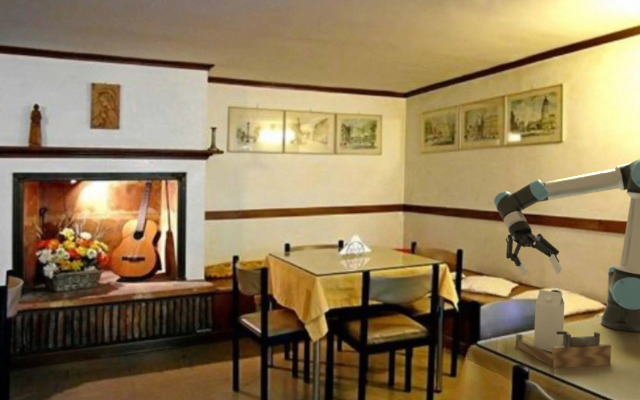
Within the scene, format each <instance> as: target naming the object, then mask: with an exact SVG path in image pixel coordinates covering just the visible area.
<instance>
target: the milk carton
mask: <svg viewBox="0 0 640 400" xmlns="http://www.w3.org/2000/svg"><path fill="white" fill-rule="evenodd" d="M534 309H535V312H534V335H533V336H534V337H533V338H534V339H533V346H535V347H537V348H539V349H541V350H543V351H544V352H550V353H552V348H553V347H558V346H564V344H563V334H559V335H557V333H556V332H557V331H564V323H565V321H564V320H565V318H564V317H565V301H564V298H563V293H562V292H557V291H550V290H544V289H539V290H538V295H537V299H536V301H535V308H534Z"/></svg>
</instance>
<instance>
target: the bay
mask: <svg viewBox="0 0 640 400" xmlns="http://www.w3.org/2000/svg"><path fill="white" fill-rule="evenodd" d="M556 333H557V335H559V334H563V346H558V347H553V348H552V352H551V354H550V353H548V352H547V351H545V350H541V349H539V348H537V347H535V346H534V344H531V343H530V342H528V341H526V340H525V339H523V334H521V333H516V334H515V347H517V348H519V349H521V350H522V351H524V352H526V353H527V354H529V355H531V356H533V357H534V358H536V359H537V360H539V361H541V362H543V363H545V364H547V365H548V366H550V367H552V369H553V368H554V369H563V368H578V367H579V368H582V367H597V366H598V367H599V366H610V365H611V364H612V363H611V360H612V345H611V344H609V343H604V344H601V341H600V340H601V333H600V332H598V331H596V332H595V331H594V333H593V335H588V336H586V335H585V336H572V334H570V332H568V331H566V330H563V331H557V332H556Z"/></svg>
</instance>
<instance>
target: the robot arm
mask: <svg viewBox="0 0 640 400" xmlns="http://www.w3.org/2000/svg"><path fill="white" fill-rule="evenodd" d="M618 189H619V190H620V191H621V190H622V191H626V193H627V195H628V196H629V197H630V201H629V208H628V215H627V221H626V226H625V232H624V238H623V246H622V251H621V257H620V263H618V264H617V265H611V266H610V267H609V268H608V271H607V275H608V277H607V278H608V280H607V296H606V297H607V299H606V301H607V303H606V307H605V309H604V311H603V314H602V316H601V318H600V319H601V320H600V324H601V325H603V326H604V327H606V328H610V329H613V330H618V331H624V332H633V333H634V332H635V333H637V332H640V158H638V159H635V160H633V161H630V162H628V163H624V164H619V165H616V167H615V168H611V169H607V170H603V171H596V172H592V173H585V174H581V175H577V176H570V177H565V178H559V179H555V180H549V181H544V182H542V180H541V179H537V180H534V181H532V182H530V183H528V184H527V185H525V186H524V187H522V188H520V189H519V190H517V191H515V192H513V193H512V192H510V191H503V192H499V193H498V194H496V195H495V197H494V199H493V203H494V204H495V207H496V210H497V211H498V213H499V216H500V217H501V219H502V221H503V223H504V225H505V227H506V229H507V231H508V233H509V234H508V235H507V236H506V238H505V241H506V253H505V254H506V259H509V260H510V261H511V262H513V263H514V264H515V266H516V267H518V269H519V271H520V273H521V275H522V276H525V275H526V273H528V268H527V267H526V264H525V262H524V261H523V259H522V256H521V255H519V252H520V250H521V247H522V248H532V249H536V250H538V252H539V253H540V252H541V253H542V254H544V255H545V256H547V257H548V260H549V262H550V264H551V266H552V268H553V269H554V271H555V273H556V274H560V272H561V271H562V270H563V267H562V266H561V264H560V260H559V258H558V255H559V254H560V250H559V249H558V248H557V247H555V246H554V245H552V243H550V242H549V241H548V240H547V239H546V238H545V237H544V236H543V235H542V234H541V233H538V234H537V235H534V234H533V233H532V228H531V226H530V224H529V223H528V221H527V218H526V217H525V216H524V214H523V211H524V210H527V208H529V207H531V206H533V205H535V204H537V203H541V202H547V201H552V200H558V199H564V198H570V197H576V196H582V195H586V194H587V195H588V194H592V193H600V192H605V191H610V190H611V191H612V190H618ZM514 242H515V243H516V246H515V249H514V250H513V247H514V246H513V245H514ZM513 251H514V252H513Z"/></svg>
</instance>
